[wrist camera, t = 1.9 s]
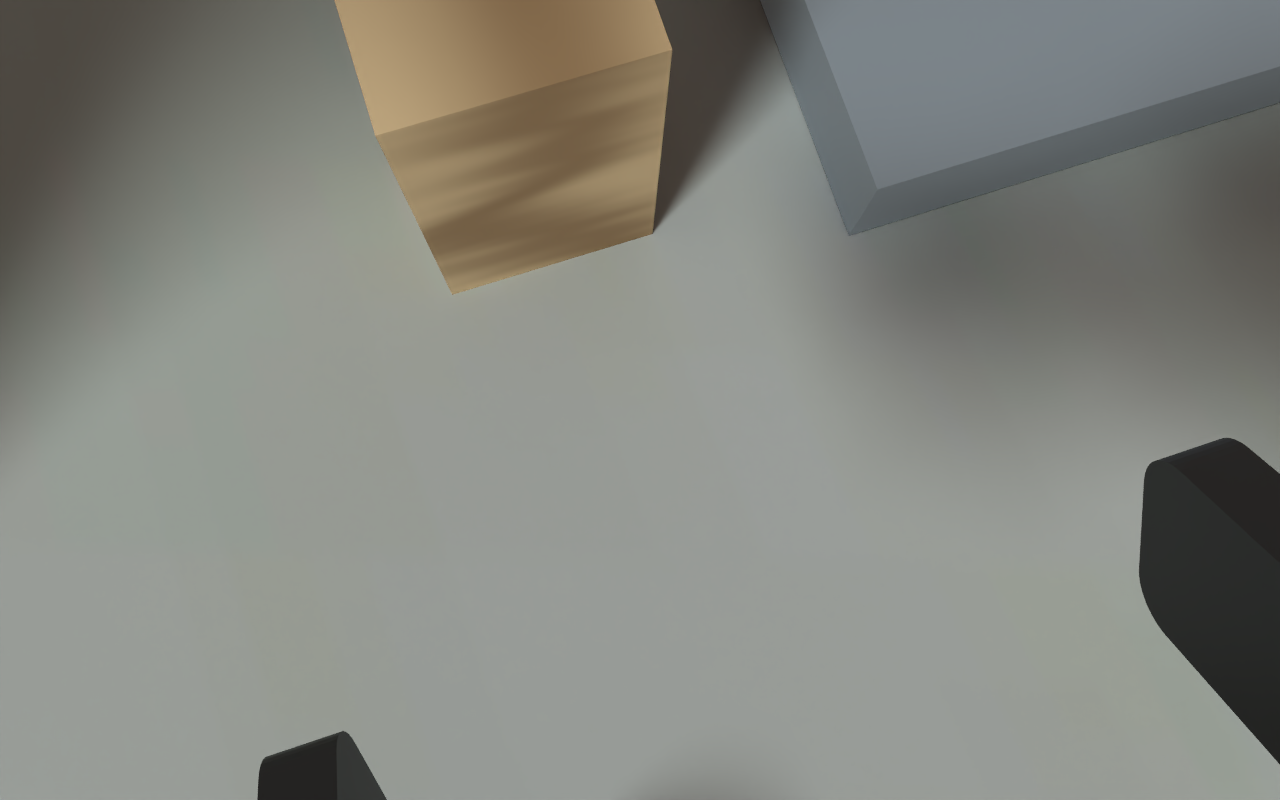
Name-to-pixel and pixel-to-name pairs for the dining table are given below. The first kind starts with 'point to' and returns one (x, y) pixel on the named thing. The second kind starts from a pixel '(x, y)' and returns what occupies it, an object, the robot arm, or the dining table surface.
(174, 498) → the dining table surface
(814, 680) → the dining table surface
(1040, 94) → the plinth
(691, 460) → the dining table surface
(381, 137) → the block
